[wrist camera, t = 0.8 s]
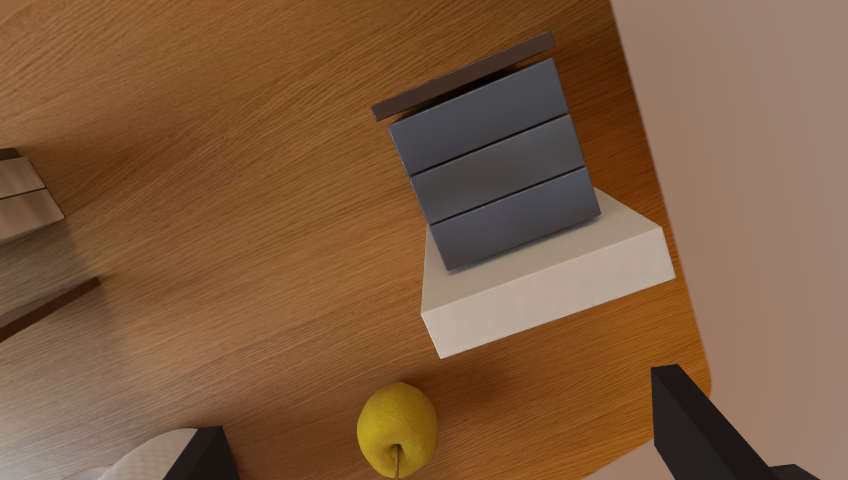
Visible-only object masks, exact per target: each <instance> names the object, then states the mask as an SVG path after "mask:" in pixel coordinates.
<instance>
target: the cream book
mask: <svg viewBox="0 0 848 480" xmlns="http://www.w3.org/2000/svg"><path fill="white" fill-rule="evenodd" d="M593 188H594V191H595V194H596V198H597V201H598V204H599V207H600V211H601V215H599V216H596V217H594V218H591V219H588V220H586V221H583V222H580V223H578V224H575V225H572V226H569V227H567V228H564V229H561V230H559V231H556V232H553V233H550V234H548V235H545V236H542V237H540V238H537V239H534V240H531V241H529V242H526V243H523V244H521V245H518V246H515V247H512V248H510V249H507V250H504V251H502V252H499V253H496V254H494V255H491V256H488V257H485V258H483V259H480V260H477V261H475V262H472V263H469V264H466V265H464V266H461V267H458V268H456V269H453V270H450V271H447V270H446V267H445V265H444V263H443V260H442V258H441V255H440V253H439V251H438V248H437V246H436V243H435V241H434V239H433V236H432V234H431V231H430V229H429V225H428V224H427V235H426V249H425V264H424V278H423V293H422V307H421V316H422V318H423V320H424V322H425V325H426V327H427V329H428V331H429V334H430V336H431V338H432V340H433V343H434V345H435V347H436V349H437V352H438V354H439V356H440V358H441V359H443V358H446V357H448V356H451V355H454V354H457V353H460V352H463V351H466V350H469V349H472V348H475V347H477V346H480V345H483V344H486V343H489V342H492V341H495V340H498V339H501V338H504V337H506V336H509V335H512V334H515V333H518V332H521V331H524V330H527V329H530V328H533V327H535V326H538V325H541V324H544V323H547V322H550V321H553V320H556V319H559V318H562V317H564V316H567V315H570V314H573V313H576V312H579V311H582V310H585V309H588V308H591V307H593V306H596V305H599V304H602V303H605V302H608V301H611V300H614V299H617V298H620V297H622V296H625V295H628V294H631V293H634V292H637V291H640V290H643V289H646V288H649V287H651V286H654V285H657V284H660V283H663V282H666V281H669V280H672V279H675V278H676V276H675V272H674V269H673V265H672V262H671V258H670V254H669V251H668V247H667V244H666V240H665V236H664V233H663V229H662V227H660V226H659V225H657V224H655V223H654V222H652V221H650V220H649V219H647V218H645V217H644V216H642V215H640V214H639V213H637V212H635V211H634V210H632V209H630V208H629V207H627V206H625V205H624V204H622V203H620V202H619V201H617V200H615V199H614V198H612V197H610V196H609V195H607V194H605V193H604V192H602V191H600V190H599V189H597V188H595V187H594V186H593Z"/></svg>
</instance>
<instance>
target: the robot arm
mask: <svg viewBox="0 0 848 480" xmlns="http://www.w3.org/2000/svg"><path fill="white" fill-rule="evenodd" d="M651 383H652V405H653V426H654V445H655V447H656V449H657V451H658V452H659V454H660V455H661V457H662V459H663V460H664V462H665V464H666V465H667V467H668V468H669V470H670V472H671V473H672V475H673V477H674V478H675V480H820V479H818V478H817V477H815V476H813V475H812V474H810V473H808V472H807V471H805V470H803V469H802V468H800V467H799V466H797V465H795V464H790V465H782V466H773V467H768V465H767V464H766V463H765V462H764V461H763V460H762V459H761V458H760V456H759V455H758V454H757V453H756V452H755V451H754V450H753V448H752V447H751V446H750V445H749V444H748V443H747V442H746V441H745V439H744V438H743V437H742V436H741V435H740V434H739V433H738V432H737V431H736V429H735V428H734V427H733V426H732V425H731V424H730V423H729V421H728V420H727V419H726V418H725V417H724V416H723V415H722V414H721V412H720V411H719V410H718V409H717V408H716V407H715V406H714V405H713V403H712V402H711V401H710V400H709V399H708V398H707V397H706V395H705V394H704V393H703V392H702V391H701V390H700V389H699V388H698V386H697V385H696V384H695V383H694V382H693V381H692V380H691V379H690V377H689V376H688V375H687V374H686V373H685V372H684V371H683V370H682V368H681V367H680V366H679V365H678V364H674V365H666V366H659V367H652V368H651ZM163 480H240V477H239V474H238V471H237V468H236V465H235V462H234V459H233V457H232V454H231V451H230V448H229V445H228V442H227V439H226V436H225V433H224V430H223V427H222V426H214V427H207V428H199V429H198V430H197V431H196V433H195V434H194V436H193V437H192V438H191V440H190V441H189V443H188V444H187V446H186V447H185V448H184V450H183V451H182V453H181V454H180V455H179V457H178V458H177V460H176V461H175V463H174V464H173V465H172V467H171V468H170V470H169V471H168V472H167V474H166V475H165V477H164V478H163Z"/></svg>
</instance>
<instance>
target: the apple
mask: <svg viewBox="0 0 848 480" xmlns="http://www.w3.org/2000/svg"><path fill="white" fill-rule="evenodd" d="M438 432H439V427H438V417H437V413H436V410H435V408H434V405H433V404H432V402H431V400H430V399H429V398H428V397H427V396H426V395H425V394H424V393H423V392H421V391H420V390H419V389H417V388H415V387H413V386H411V385H409V384H406V383H403V382H393V383H390V384H387V385H385V386H383V387H382V388H380V389H379V390H377V391H376V392H375V393H374V394H373V395H372V396H371V397H370V398H369V400H368V401H367V403H366V405H365V406H364V408H363V410H362V412H361V414H360V417H359V420H358V423H357V438H358V442H359V445H360V448H361V451H362V453H363V454H364V456H365V458H366V459H367V460H368V462H369V463H370V464H371V465H372V467H373V468H374V469H375V470H376V471H377V472H379V473H380V474H382V475H383V476H385V477H390V478H394V479H395V480H398V478H402V477H406V476H407V475H409V474H411V473H413V472H415V471H416V470H418V469H420V468H421V467H423V466H424V465H426V464H427V463H428V462H429V461H430V460H431V459H432V457H433V456H434V453H435V451H436V448H437V444H438Z"/></svg>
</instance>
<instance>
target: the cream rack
mask: <svg viewBox="0 0 848 480" xmlns="http://www.w3.org/2000/svg"><path fill="white" fill-rule="evenodd" d="M43 188H45V185H44V183H43V182H42V180H41V179H40V177H39V175H38V174H37V172H36V171H35V169H34V167H33V166H32V164H31V163H30V161H29V159H28V158H27V157H21V158H19V155H18V153H17V152H16V150H15V148H13V147H12V148H4V149H0V246H1V245H4V244H6V243H8V242H11V241H13V240H15V239H18V238H20V237H22V236H25V235H27V234H29V233H32V232H34V231H36V230H39V229H41V228H43V227H45V226H48V225H50V224H52V223H55V222H57V221H59V220H62V219H64V218H65V217H64V215H63V214H62V212H61V210H60V209H59V207H58V206H57V204H56V202H55V201H54V199H53V198H52V196H51V195H50V193H49V191H48V190H47V189H43ZM40 189H43V190H40ZM38 190H39V191H38ZM98 286H100V283H99V281H98V280H97V278H96V277H93V278H90V279H88V280H86V281H83V282H81V283H78V284H76V285H73V286H71V287H68V288H66V289H64V290H61V291H59V292H56V293H54V294H51V295H49V296H46V297H44V298H42V299H39V300H37V301H34V302H32V303H29V304H27V305H24V306H22V307H19V308H17V309H15V310H12V311H10V312H7V313H5V314H3V315H1V316H0V343H1V342H3V341H4V340H6V339H8V338H10V337H11V336H13V335H15V334H17V333H18V332H20V331H22V330H23V329H25V328H27V327H29V326H30V325H32V324H34V323H36V322H37V321H39V320H41V319H43V318H44V317H46V316H48V315H50V314H51V313H53V312H55V311H57V310H58V309H60V308H62V307H63V306H65V305H67V304H69V303H70V302H72V301H74V300H76V299H77V298H79V297H81V296H83V295H84V294H86V293H88V292H90V291H91V290H93V289H95V288H97V287H98Z"/></svg>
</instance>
